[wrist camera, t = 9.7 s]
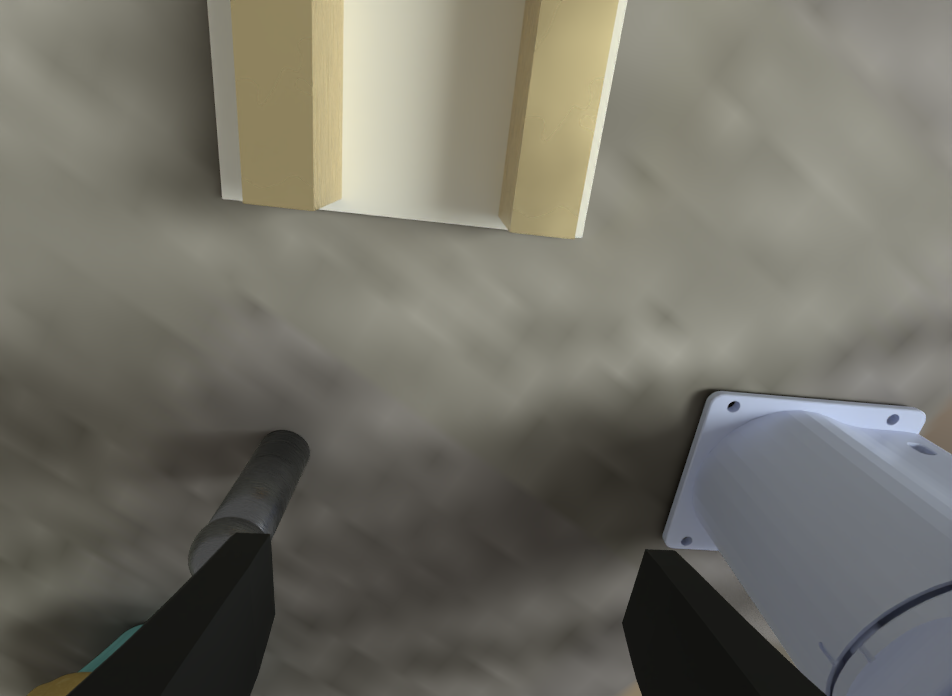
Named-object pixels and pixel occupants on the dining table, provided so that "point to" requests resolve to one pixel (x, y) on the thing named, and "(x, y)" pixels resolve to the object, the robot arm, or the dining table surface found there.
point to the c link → (321, 107)
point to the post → (255, 495)
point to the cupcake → (57, 689)
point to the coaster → (415, 107)
